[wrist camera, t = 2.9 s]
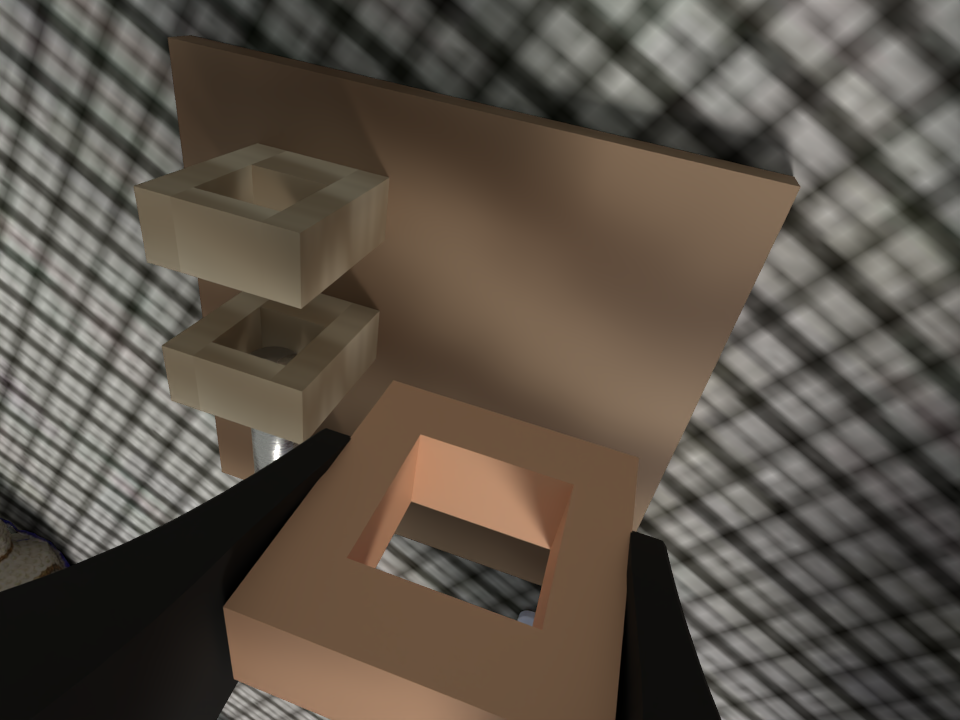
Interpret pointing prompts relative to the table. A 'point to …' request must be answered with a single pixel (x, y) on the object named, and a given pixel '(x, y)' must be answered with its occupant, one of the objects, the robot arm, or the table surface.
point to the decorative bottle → (26, 557)
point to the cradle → (443, 266)
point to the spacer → (428, 613)
